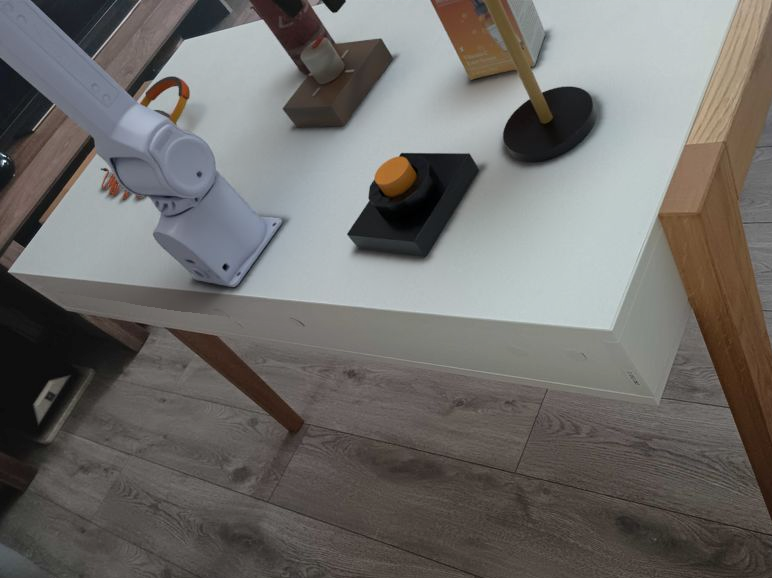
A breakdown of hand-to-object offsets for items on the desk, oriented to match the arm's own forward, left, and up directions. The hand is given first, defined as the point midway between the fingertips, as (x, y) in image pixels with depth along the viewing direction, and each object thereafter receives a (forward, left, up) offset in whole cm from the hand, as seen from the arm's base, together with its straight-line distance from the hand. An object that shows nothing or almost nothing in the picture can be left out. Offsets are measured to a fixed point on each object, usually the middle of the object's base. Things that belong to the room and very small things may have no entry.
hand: (318, 9), depth 87 cm
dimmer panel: (-2, +2, -10) cm, 10 cm away
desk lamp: (-9, -32, -10) cm, 35 cm away
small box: (+2, -22, -10) cm, 24 cm away
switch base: (-20, -22, -10) cm, 32 cm away
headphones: (-12, +35, -10) cm, 38 cm away
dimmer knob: (-2, +2, -7) cm, 7 cm away
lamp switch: (-20, -22, -6) cm, 31 cm away
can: (+5, +12, -10) cm, 16 cm away
